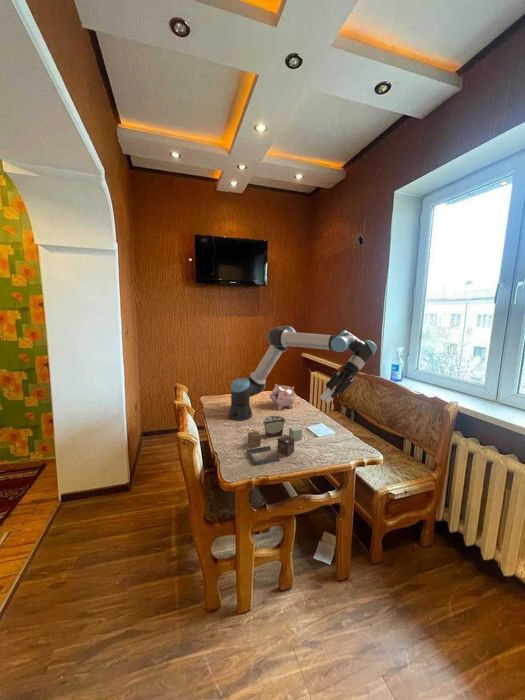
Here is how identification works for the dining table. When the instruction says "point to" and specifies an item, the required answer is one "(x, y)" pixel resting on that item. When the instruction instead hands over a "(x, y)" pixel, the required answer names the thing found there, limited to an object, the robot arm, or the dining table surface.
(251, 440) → the walnut block
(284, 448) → the box
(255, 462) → the corral
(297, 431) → the sage green block
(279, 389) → the piggy bank
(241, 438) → the dining table surface
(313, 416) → the dining table surface
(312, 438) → the dining table surface
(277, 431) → the food container
